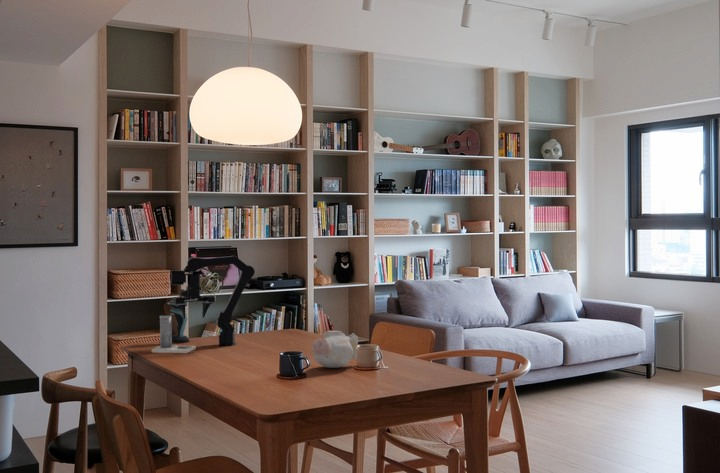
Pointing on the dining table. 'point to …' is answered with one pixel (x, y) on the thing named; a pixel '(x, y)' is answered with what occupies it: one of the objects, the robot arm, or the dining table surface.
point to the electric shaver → (178, 323)
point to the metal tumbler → (165, 331)
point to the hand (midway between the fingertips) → (193, 318)
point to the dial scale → (174, 349)
